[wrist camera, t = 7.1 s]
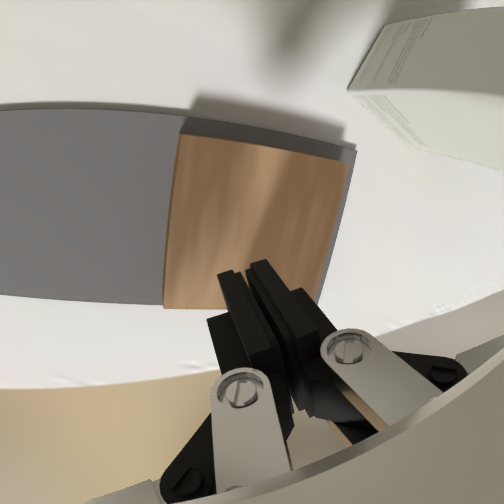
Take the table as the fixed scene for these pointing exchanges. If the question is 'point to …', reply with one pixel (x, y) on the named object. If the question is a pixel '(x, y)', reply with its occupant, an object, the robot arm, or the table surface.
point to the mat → (104, 199)
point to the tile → (246, 217)
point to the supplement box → (440, 84)
